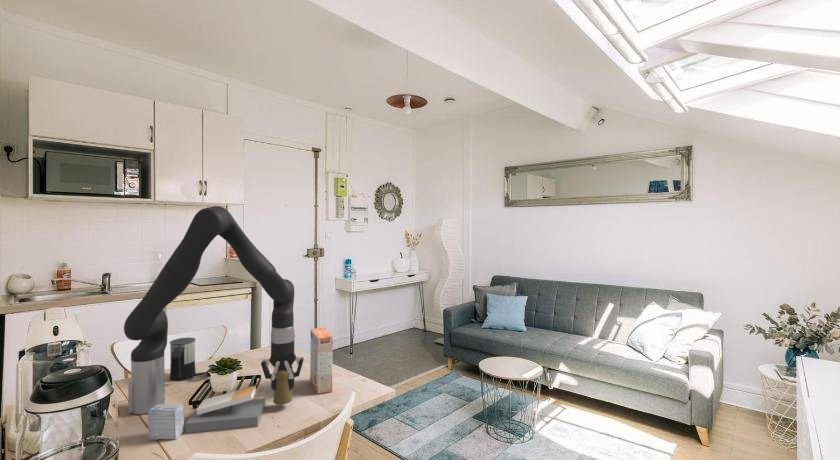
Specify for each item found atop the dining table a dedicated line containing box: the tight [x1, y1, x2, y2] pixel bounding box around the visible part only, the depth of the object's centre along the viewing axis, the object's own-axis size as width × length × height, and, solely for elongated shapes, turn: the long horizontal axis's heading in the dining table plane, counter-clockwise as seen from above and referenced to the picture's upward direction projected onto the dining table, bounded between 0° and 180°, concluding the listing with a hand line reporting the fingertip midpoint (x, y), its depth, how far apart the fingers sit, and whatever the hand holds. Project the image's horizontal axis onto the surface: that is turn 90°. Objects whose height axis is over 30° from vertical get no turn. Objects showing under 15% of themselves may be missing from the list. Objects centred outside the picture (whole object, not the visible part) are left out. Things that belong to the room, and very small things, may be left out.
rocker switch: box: [195, 385, 257, 415], centre depth 125 cm, size 16×7×2 cm, turn 102°
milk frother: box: [169, 337, 211, 382], centre depth 159 cm, size 14×16×15 cm
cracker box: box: [309, 327, 334, 395], centre depth 151 cm, size 14×6×21 cm, turn 25°
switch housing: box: [185, 397, 266, 434], centre depth 126 cm, size 20×13×5 cm, turn 102°
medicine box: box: [147, 403, 185, 441], centre depth 116 cm, size 8×4×9 cm, turn 92°
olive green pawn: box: [273, 369, 293, 406], centre depth 134 cm, size 6×6×11 cm
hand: (282, 389), depth 134 cm, fingers closed on olive green pawn, 4 cm apart
